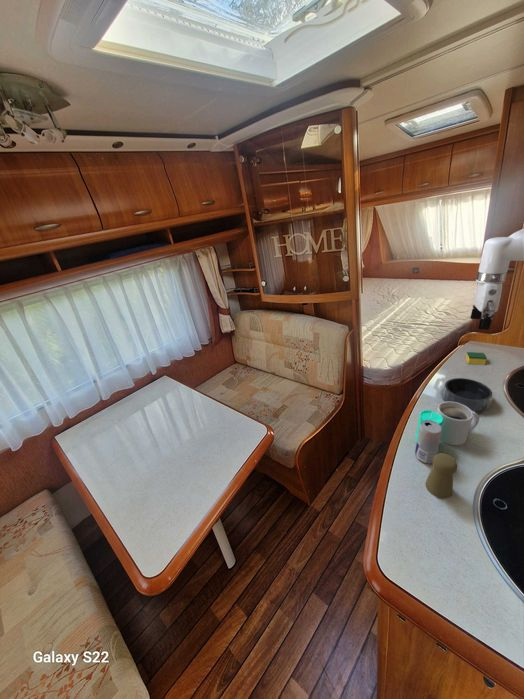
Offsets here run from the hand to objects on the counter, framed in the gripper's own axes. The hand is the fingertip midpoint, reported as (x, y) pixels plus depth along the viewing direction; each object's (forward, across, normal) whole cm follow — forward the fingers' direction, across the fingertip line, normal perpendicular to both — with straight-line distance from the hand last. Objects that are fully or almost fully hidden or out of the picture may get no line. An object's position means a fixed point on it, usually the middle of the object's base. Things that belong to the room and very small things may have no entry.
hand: (479, 323), depth 99 cm
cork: (+24, -55, +17) cm, 63 cm away
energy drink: (+24, -45, +19) cm, 55 cm away
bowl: (+24, -15, +3) cm, 29 cm away
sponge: (+24, +15, -7) cm, 29 cm away
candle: (+24, -39, +18) cm, 50 cm away
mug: (+24, -34, +10) cm, 43 cm away
